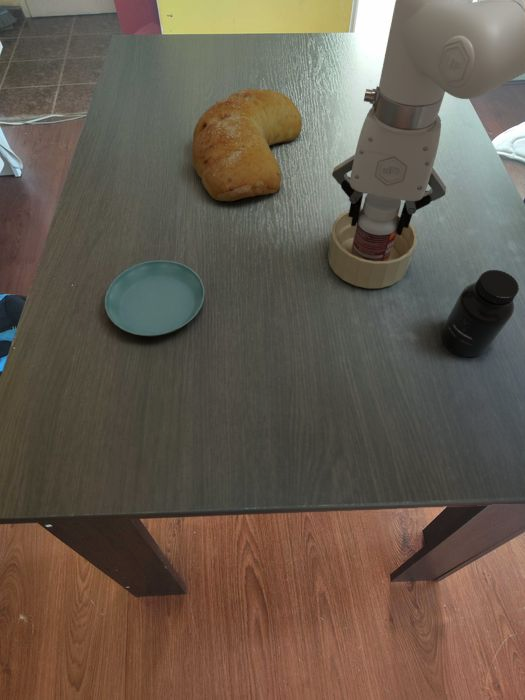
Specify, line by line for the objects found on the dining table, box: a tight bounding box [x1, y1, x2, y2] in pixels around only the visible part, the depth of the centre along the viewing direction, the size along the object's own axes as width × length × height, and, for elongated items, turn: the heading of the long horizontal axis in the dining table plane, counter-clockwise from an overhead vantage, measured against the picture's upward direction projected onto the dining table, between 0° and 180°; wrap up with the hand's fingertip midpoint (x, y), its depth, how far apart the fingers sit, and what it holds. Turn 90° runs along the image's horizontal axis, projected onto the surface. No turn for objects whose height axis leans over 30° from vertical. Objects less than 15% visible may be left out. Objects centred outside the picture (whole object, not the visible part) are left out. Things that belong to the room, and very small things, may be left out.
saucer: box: [104, 259, 206, 337], centre depth 70 cm, size 15×15×3 cm
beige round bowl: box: [327, 205, 418, 289], centre depth 74 cm, size 13×13×6 cm
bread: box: [191, 88, 303, 202], centre depth 89 cm, size 32×20×10 cm, turn 165°
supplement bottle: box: [440, 269, 520, 358], centre depth 63 cm, size 7×7×12 cm
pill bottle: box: [351, 194, 402, 261], centre depth 71 cm, size 6×6×11 cm
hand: (377, 223), depth 70 cm, fingers closed on pill bottle, 6 cm apart
